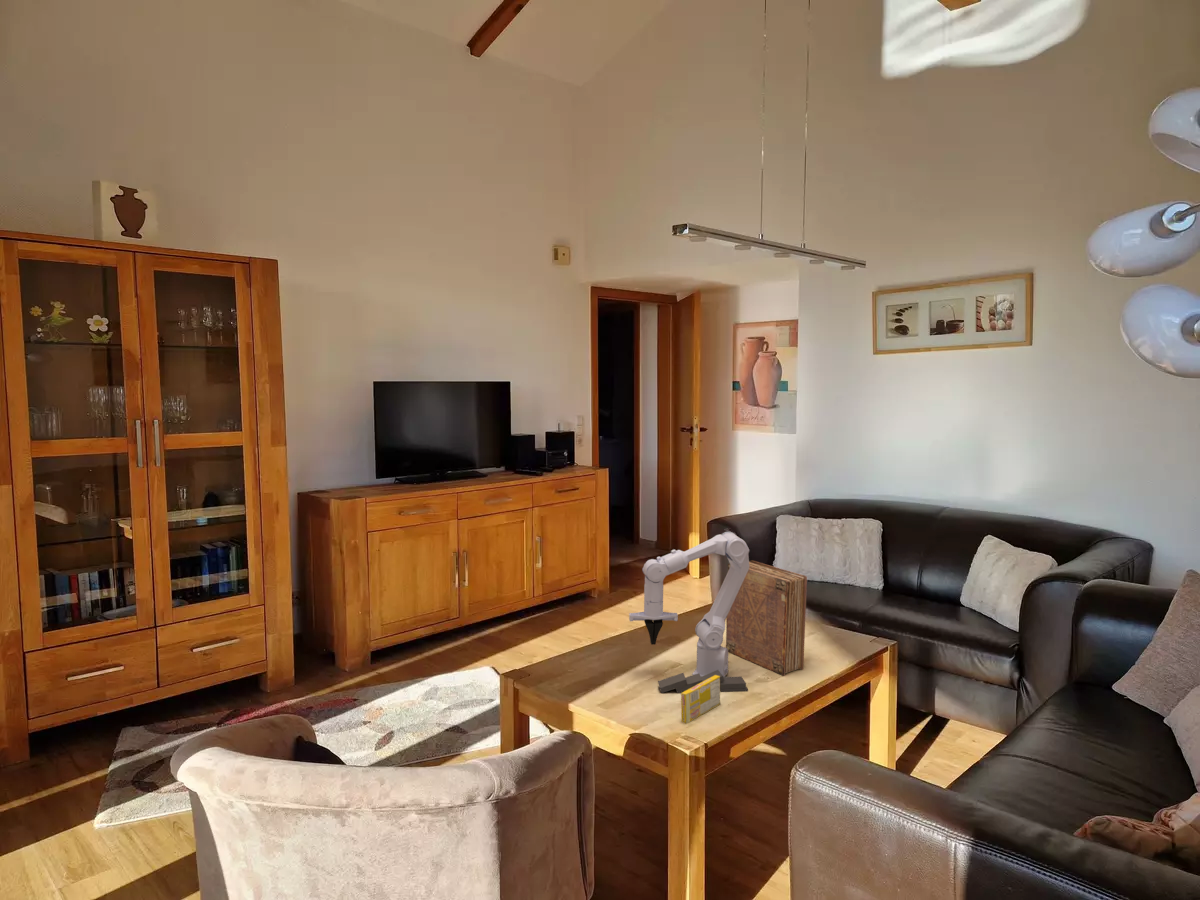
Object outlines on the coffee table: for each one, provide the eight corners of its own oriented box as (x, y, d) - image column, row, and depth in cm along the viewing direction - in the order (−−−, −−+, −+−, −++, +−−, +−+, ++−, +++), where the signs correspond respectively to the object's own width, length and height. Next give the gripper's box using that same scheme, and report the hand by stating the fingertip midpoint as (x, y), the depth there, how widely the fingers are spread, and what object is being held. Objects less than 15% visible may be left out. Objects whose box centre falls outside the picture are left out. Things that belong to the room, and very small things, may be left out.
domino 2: (674, 686, 233) (700, 678, 233) (677, 693, 228) (703, 685, 228) (673, 681, 232) (699, 673, 233) (675, 688, 228) (702, 680, 228)
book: (804, 670, 245) (807, 576, 242) (783, 676, 240) (787, 581, 237) (745, 645, 266) (747, 559, 263) (725, 651, 261) (727, 562, 257)
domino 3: (695, 685, 233) (719, 674, 234) (699, 691, 228) (724, 680, 229) (693, 680, 233) (717, 669, 234) (697, 686, 228) (722, 675, 229)
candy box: (714, 702, 222) (714, 674, 221) (720, 704, 221) (721, 676, 220) (680, 721, 210) (680, 691, 209) (686, 724, 209) (687, 694, 208)
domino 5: (716, 687, 234) (743, 687, 234) (720, 694, 229) (747, 694, 229) (716, 682, 233) (743, 681, 234) (720, 689, 229) (747, 688, 229)
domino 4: (714, 682, 234) (741, 681, 234) (718, 689, 229) (745, 688, 229) (715, 677, 233) (741, 676, 234) (719, 684, 228) (746, 683, 229)
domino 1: (659, 686, 232) (685, 677, 232) (661, 693, 227) (687, 684, 227) (657, 681, 232) (683, 672, 232) (659, 688, 227) (685, 679, 227)
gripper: (675, 595, 241) (675, 638, 243) (628, 596, 240) (628, 638, 242) (679, 602, 234) (678, 646, 236) (630, 603, 233) (629, 647, 235)
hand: (653, 643), depth 238 cm, fingers closed
